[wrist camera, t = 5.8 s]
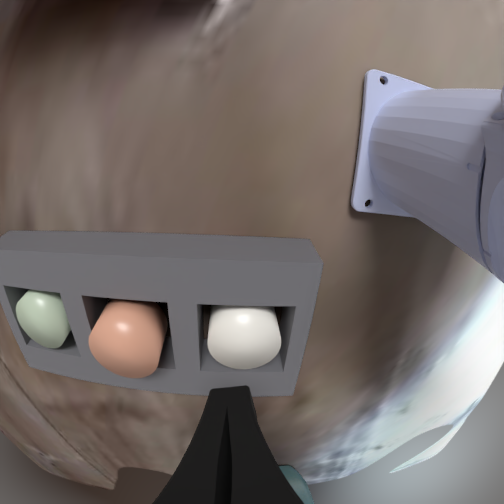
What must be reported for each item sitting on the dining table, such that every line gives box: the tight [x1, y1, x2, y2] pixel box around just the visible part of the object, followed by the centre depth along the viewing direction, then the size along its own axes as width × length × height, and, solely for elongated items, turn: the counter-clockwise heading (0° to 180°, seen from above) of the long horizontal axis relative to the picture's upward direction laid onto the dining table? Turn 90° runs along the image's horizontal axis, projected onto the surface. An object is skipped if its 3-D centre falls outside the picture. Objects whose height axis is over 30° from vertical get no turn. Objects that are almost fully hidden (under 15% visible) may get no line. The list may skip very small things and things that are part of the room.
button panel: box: [0, 231, 324, 397], centre depth 17 cm, size 20×10×3 cm, turn 86°
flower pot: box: [279, 465, 314, 504], centre depth 26 cm, size 9×9×9 cm
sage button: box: [16, 289, 71, 348], centre depth 16 cm, size 4×4×3 cm
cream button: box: [207, 305, 281, 369], centre depth 17 cm, size 4×4×3 cm
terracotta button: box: [88, 298, 168, 378], centre depth 15 cm, size 4×4×3 cm
